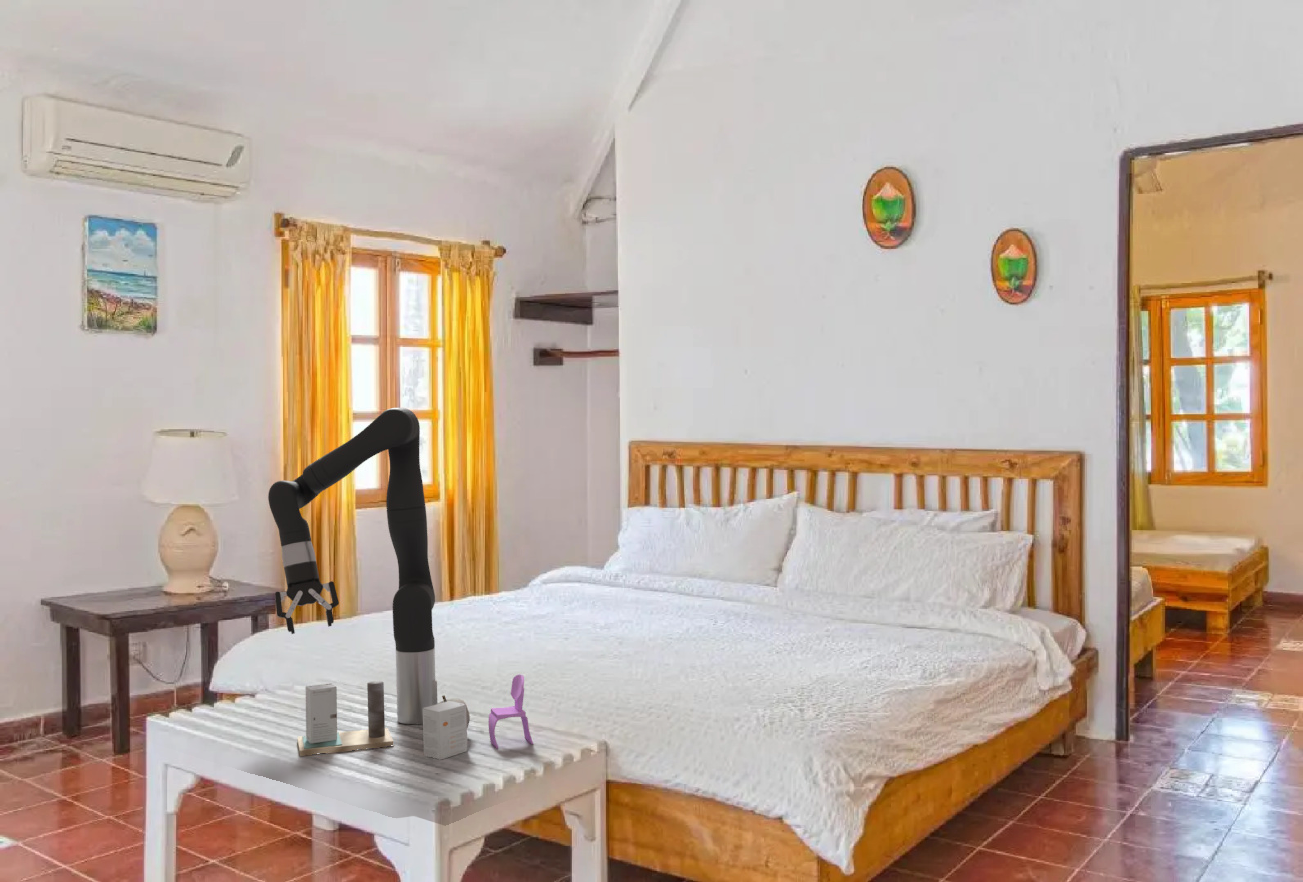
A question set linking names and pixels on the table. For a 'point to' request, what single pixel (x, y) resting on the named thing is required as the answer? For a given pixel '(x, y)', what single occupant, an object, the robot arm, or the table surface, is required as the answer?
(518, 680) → the toy chair
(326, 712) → the skincare box
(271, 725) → the table surface
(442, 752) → the small box
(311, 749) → the board
